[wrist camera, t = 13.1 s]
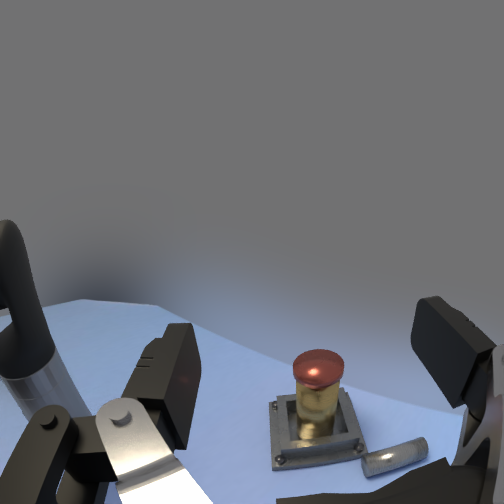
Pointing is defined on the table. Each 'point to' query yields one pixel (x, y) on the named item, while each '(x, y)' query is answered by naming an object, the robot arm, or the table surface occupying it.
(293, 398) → the socket
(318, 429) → the valve
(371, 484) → the table surface
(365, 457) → the cylinder
